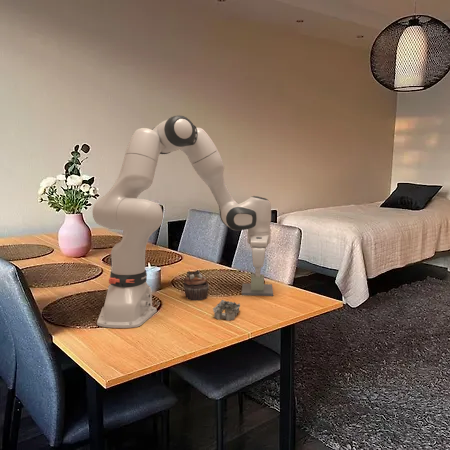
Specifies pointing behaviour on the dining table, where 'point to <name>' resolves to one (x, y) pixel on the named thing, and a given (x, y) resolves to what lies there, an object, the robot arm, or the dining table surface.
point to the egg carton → (226, 310)
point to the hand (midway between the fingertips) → (257, 273)
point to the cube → (257, 282)
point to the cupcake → (195, 286)
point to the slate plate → (266, 292)
